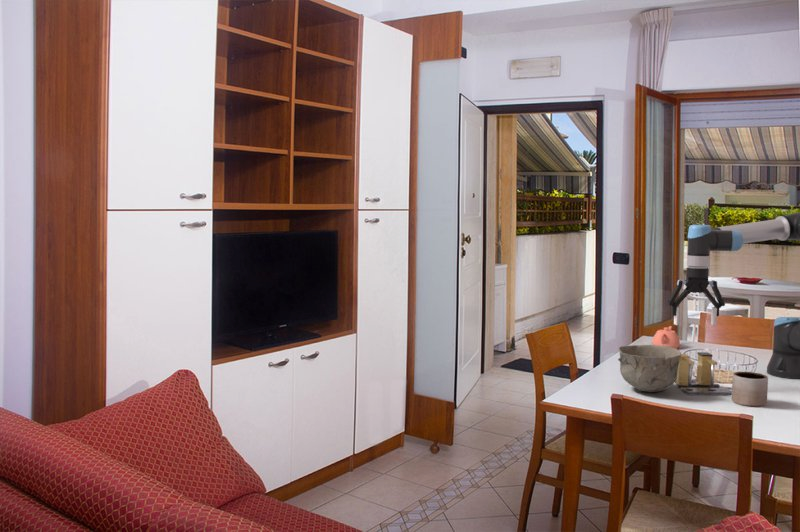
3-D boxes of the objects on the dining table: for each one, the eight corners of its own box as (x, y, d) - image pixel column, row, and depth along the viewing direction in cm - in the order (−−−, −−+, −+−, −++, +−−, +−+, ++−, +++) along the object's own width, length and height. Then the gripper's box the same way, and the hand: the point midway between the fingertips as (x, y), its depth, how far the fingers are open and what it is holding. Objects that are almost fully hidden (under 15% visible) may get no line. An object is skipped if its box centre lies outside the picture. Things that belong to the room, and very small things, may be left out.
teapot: (648, 349, 332) (648, 328, 331) (657, 342, 347) (658, 323, 346) (675, 352, 326) (676, 331, 325) (683, 345, 341) (684, 325, 340)
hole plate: (726, 390, 258) (726, 387, 258) (733, 395, 252) (733, 392, 252) (681, 390, 259) (681, 387, 259) (688, 394, 253) (688, 391, 253)
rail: (717, 386, 264) (717, 383, 264) (719, 388, 262) (719, 385, 262) (676, 386, 264) (676, 383, 264) (678, 387, 262) (678, 384, 262)
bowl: (649, 402, 243) (651, 358, 241) (603, 387, 262) (604, 346, 261) (694, 394, 253) (696, 352, 252) (647, 380, 272) (648, 341, 271)
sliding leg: (705, 381, 265) (707, 352, 264) (719, 390, 253) (721, 359, 252) (695, 381, 265) (696, 352, 264) (708, 390, 253) (710, 359, 252)
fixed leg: (683, 382, 266) (684, 353, 265) (696, 390, 254) (697, 360, 253) (674, 382, 266) (675, 353, 265) (686, 390, 254) (687, 360, 253)
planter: (724, 398, 248) (726, 371, 247) (755, 398, 249) (756, 371, 248) (742, 407, 237) (743, 379, 236) (773, 407, 238) (775, 378, 237)
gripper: (727, 266, 264) (724, 323, 266) (659, 265, 265) (657, 322, 266) (736, 268, 257) (733, 327, 259) (666, 267, 257) (664, 326, 259)
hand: (694, 325), depth 263 cm, fingers open, 13 cm apart
